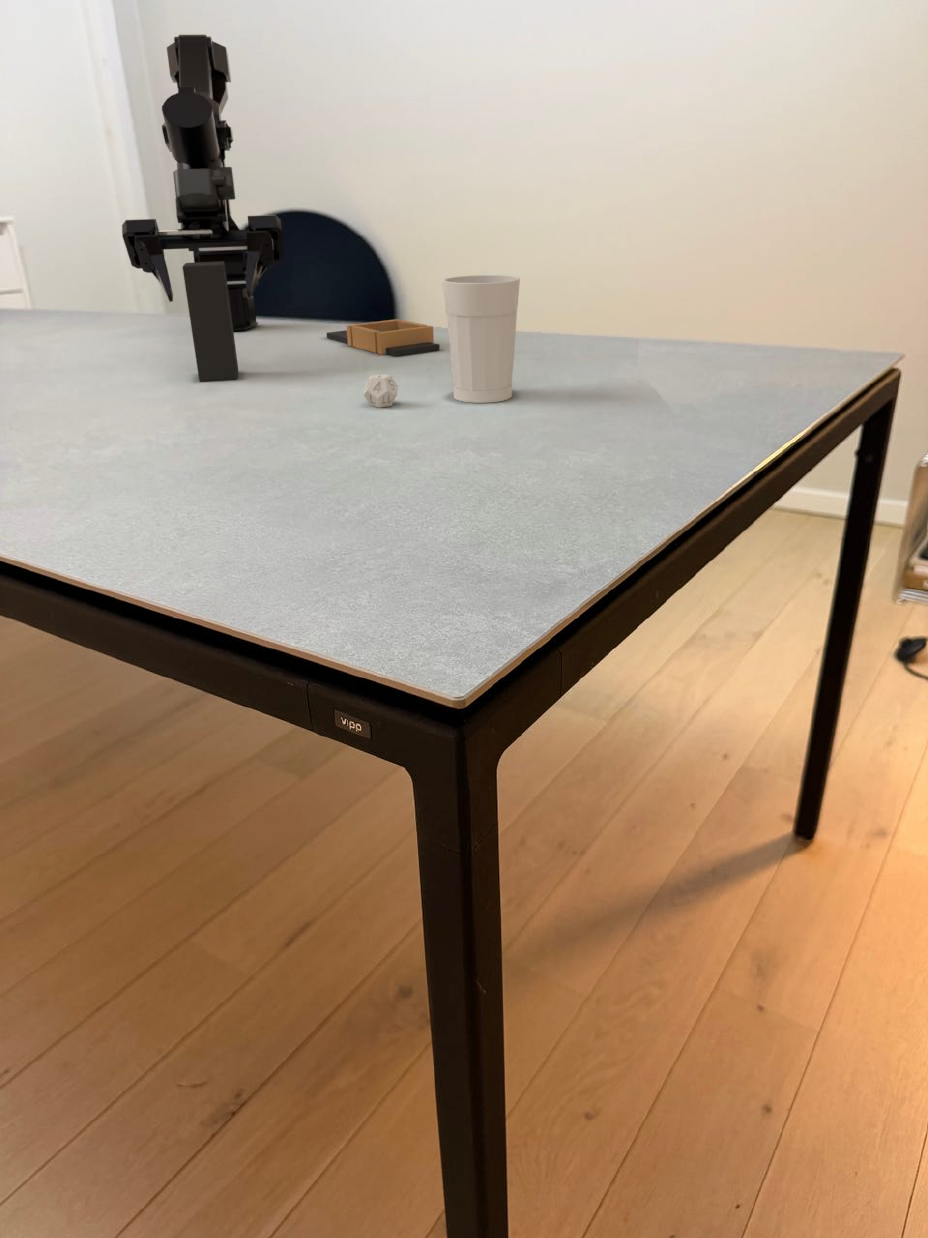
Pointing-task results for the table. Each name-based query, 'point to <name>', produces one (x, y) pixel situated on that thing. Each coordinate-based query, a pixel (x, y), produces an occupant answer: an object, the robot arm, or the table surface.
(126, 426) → the table surface
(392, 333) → the wooden tray on slab
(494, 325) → the cup
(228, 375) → the dark rectangular block
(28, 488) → the table surface
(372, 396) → the game die
